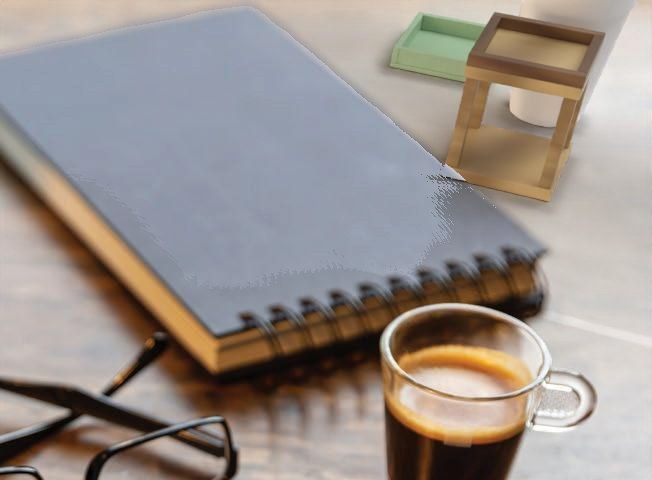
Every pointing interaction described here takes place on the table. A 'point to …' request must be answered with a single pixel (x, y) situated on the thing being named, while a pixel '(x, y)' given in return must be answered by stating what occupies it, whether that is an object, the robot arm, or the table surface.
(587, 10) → the foam cup
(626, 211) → the table surface
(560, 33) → the stand
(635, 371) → the table surface
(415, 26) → the tray
